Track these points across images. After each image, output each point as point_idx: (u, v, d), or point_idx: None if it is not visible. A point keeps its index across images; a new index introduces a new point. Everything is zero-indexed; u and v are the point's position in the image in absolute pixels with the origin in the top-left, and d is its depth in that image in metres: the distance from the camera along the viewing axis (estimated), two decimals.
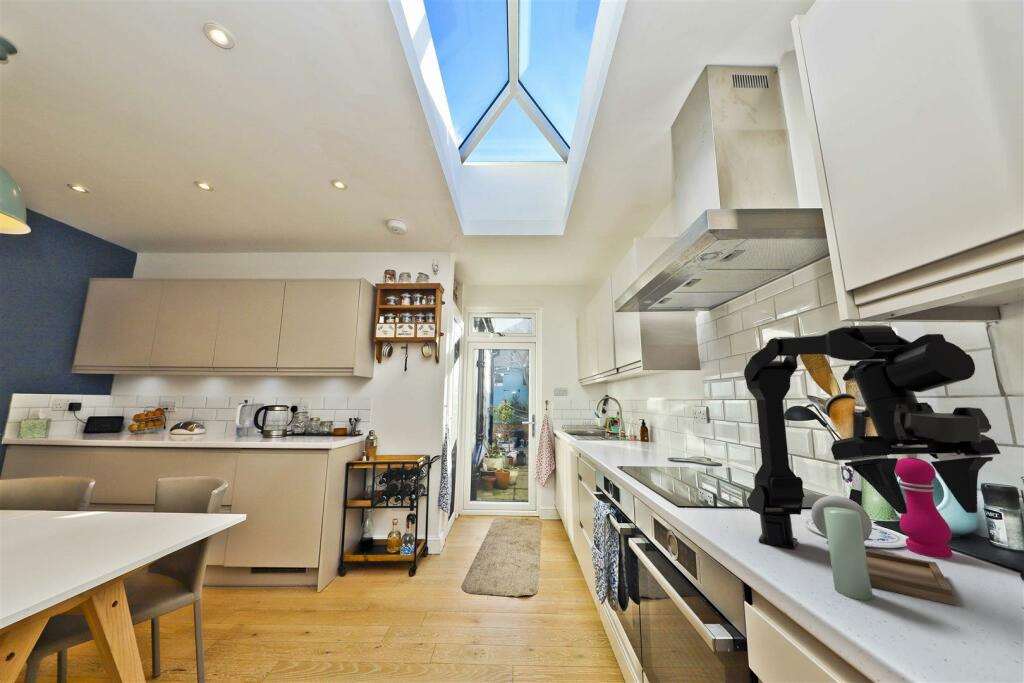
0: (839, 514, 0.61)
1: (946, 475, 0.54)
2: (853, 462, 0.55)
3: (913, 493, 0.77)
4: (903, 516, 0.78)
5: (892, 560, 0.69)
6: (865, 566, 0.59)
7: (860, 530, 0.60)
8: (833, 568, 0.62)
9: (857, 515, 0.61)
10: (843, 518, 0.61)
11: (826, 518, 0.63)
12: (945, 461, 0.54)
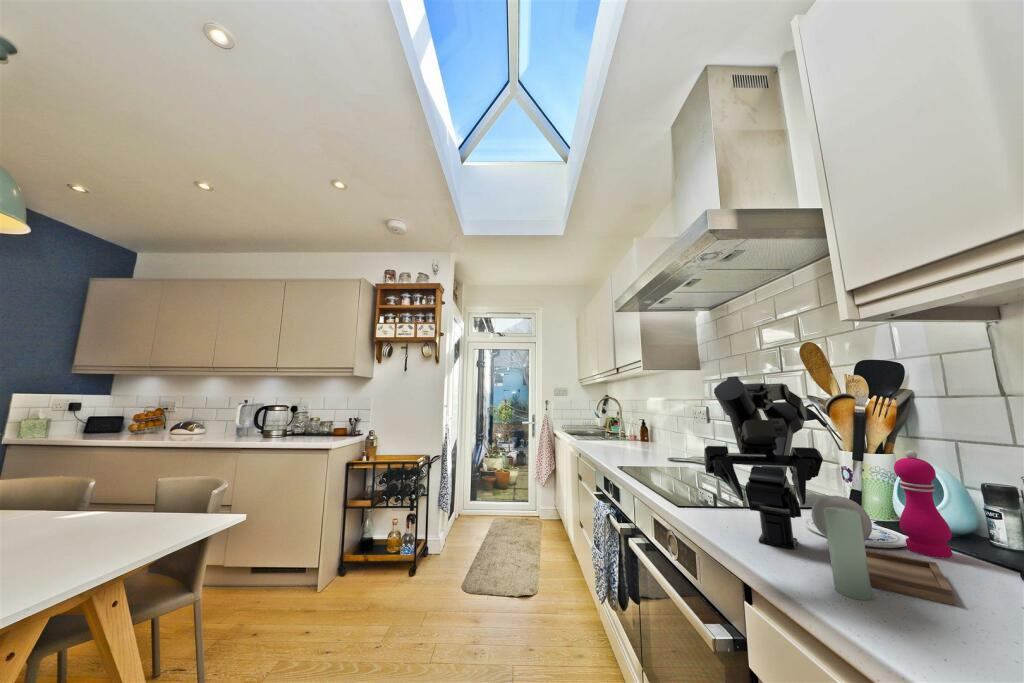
0: (839, 514, 0.61)
1: (794, 482, 0.68)
2: (714, 469, 0.74)
3: (913, 493, 0.77)
4: (903, 516, 0.78)
5: (892, 560, 0.69)
6: (865, 566, 0.59)
7: (860, 530, 0.60)
8: (833, 568, 0.62)
9: (857, 515, 0.61)
10: (843, 518, 0.61)
11: (826, 518, 0.63)
12: (793, 472, 0.70)
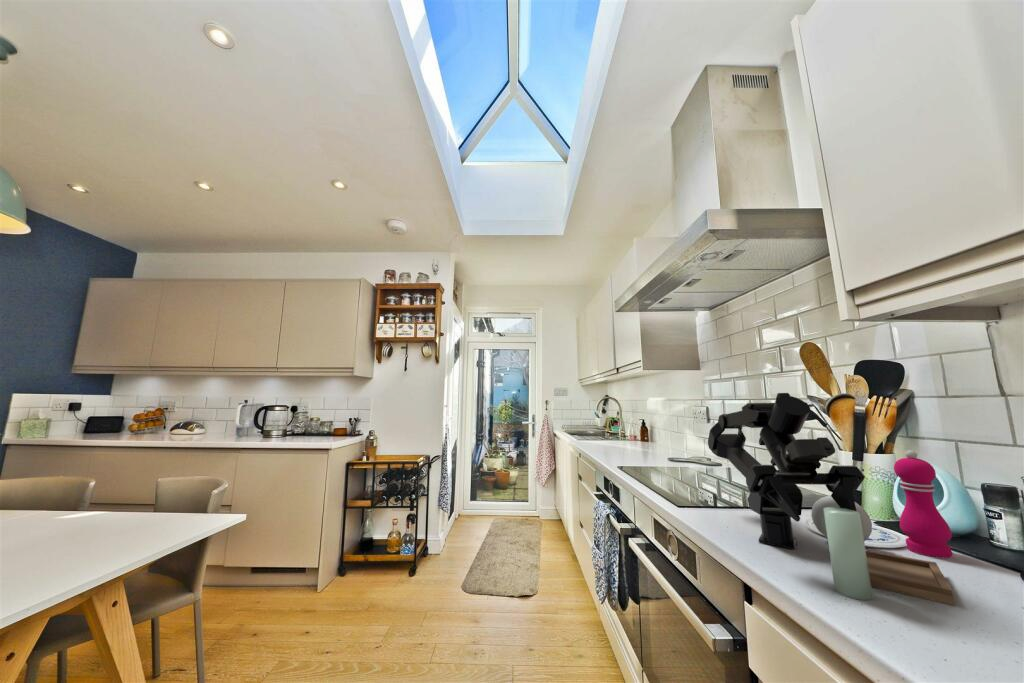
0: (839, 514, 0.61)
1: (838, 500, 0.70)
2: (759, 488, 0.73)
3: (913, 493, 0.77)
4: (903, 516, 0.78)
5: (892, 560, 0.69)
6: (865, 566, 0.59)
7: (860, 530, 0.60)
8: (833, 568, 0.62)
9: (857, 515, 0.61)
10: (843, 518, 0.61)
11: (826, 518, 0.63)
12: (835, 490, 0.71)
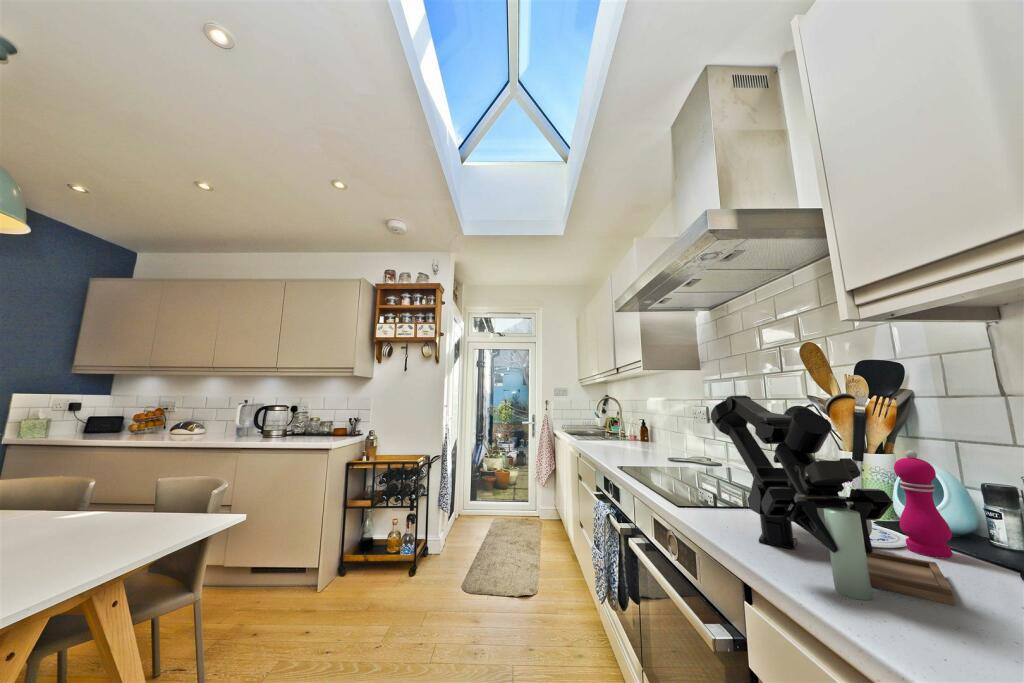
0: (839, 514, 0.61)
1: None
2: (790, 513, 0.67)
3: (913, 493, 0.77)
4: (903, 516, 0.78)
5: (892, 560, 0.69)
6: (865, 566, 0.59)
7: (860, 530, 0.60)
8: (833, 568, 0.62)
9: (857, 515, 0.61)
10: (843, 517, 0.61)
11: (826, 518, 0.63)
12: None
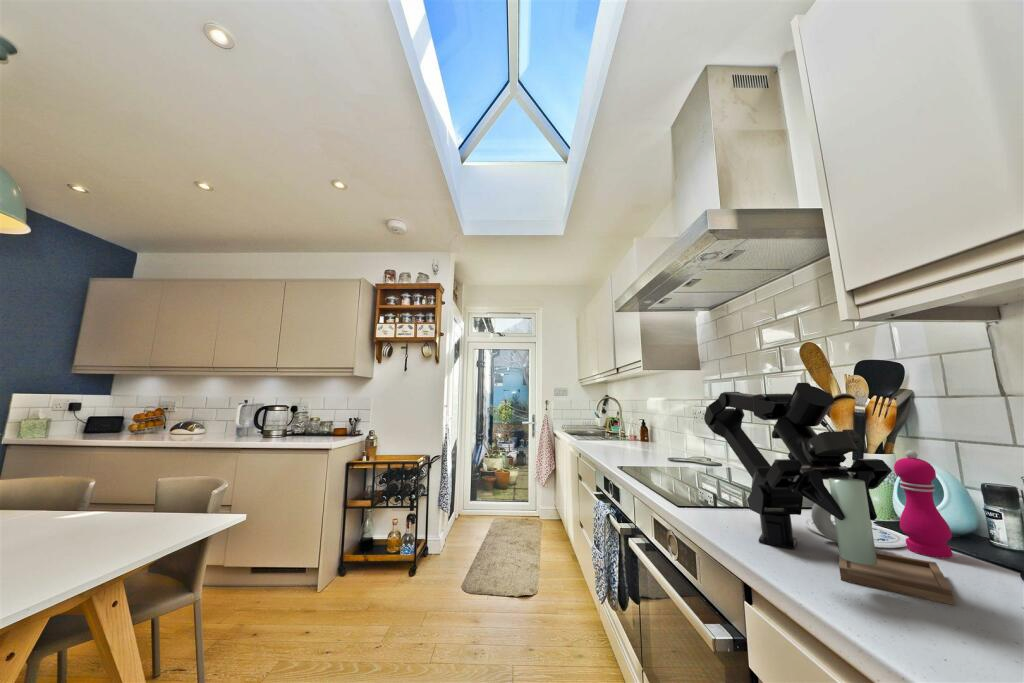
0: (846, 482, 0.62)
1: None
2: (795, 485, 0.68)
3: (913, 493, 0.77)
4: (903, 516, 0.78)
5: (892, 560, 0.69)
6: (870, 532, 0.61)
7: (866, 497, 0.62)
8: (839, 536, 0.63)
9: (863, 483, 0.62)
10: (850, 486, 0.62)
11: (832, 487, 0.64)
12: None
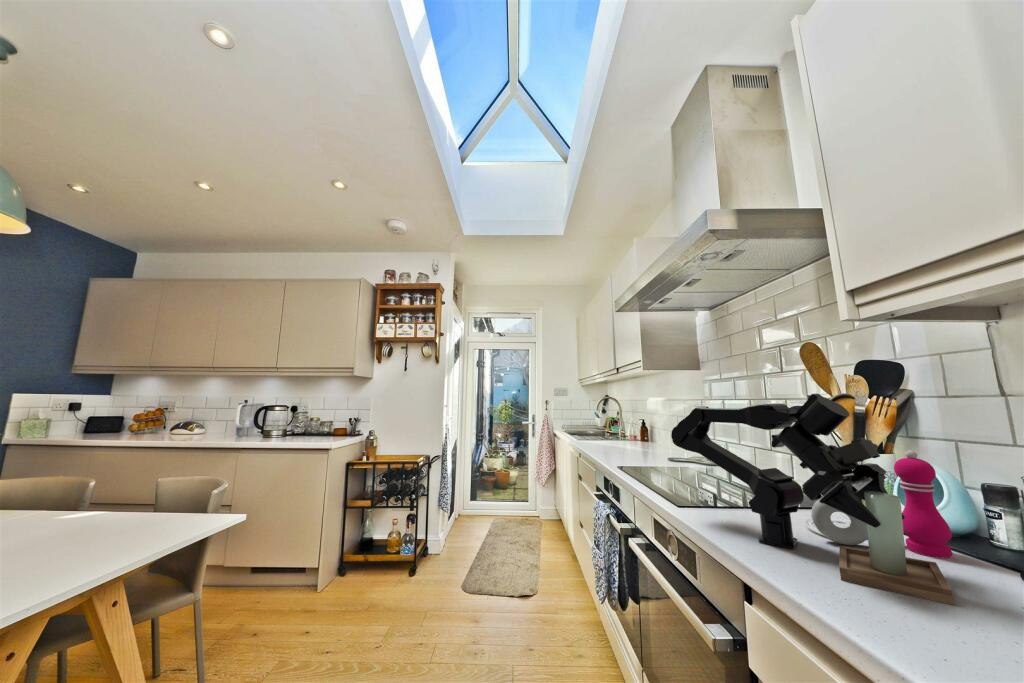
0: (890, 499, 0.65)
1: None
2: (826, 496, 0.68)
3: (913, 493, 0.77)
4: None
5: None
6: (903, 543, 0.65)
7: None
8: (878, 550, 0.66)
9: (899, 498, 0.66)
10: (894, 502, 0.65)
11: (874, 504, 0.66)
12: (863, 488, 0.73)
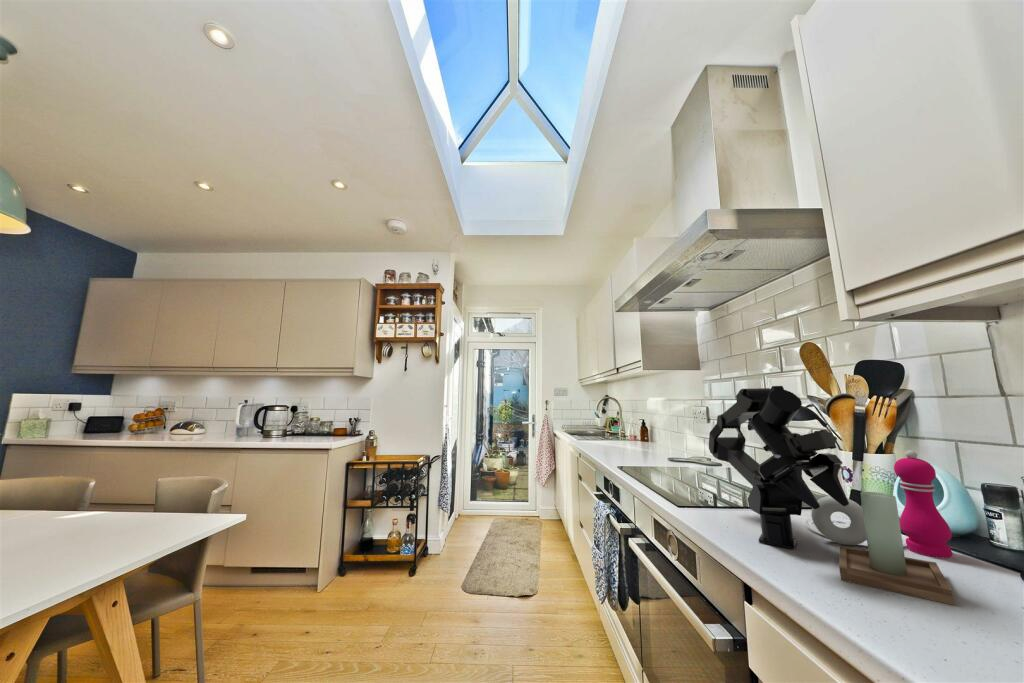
0: (886, 498, 0.66)
1: (822, 484, 0.78)
2: (776, 477, 0.74)
3: (913, 493, 0.77)
4: (903, 516, 0.78)
5: None
6: None
7: None
8: (877, 550, 0.66)
9: (895, 497, 0.66)
10: (890, 501, 0.65)
11: (871, 503, 0.67)
12: (818, 475, 0.79)
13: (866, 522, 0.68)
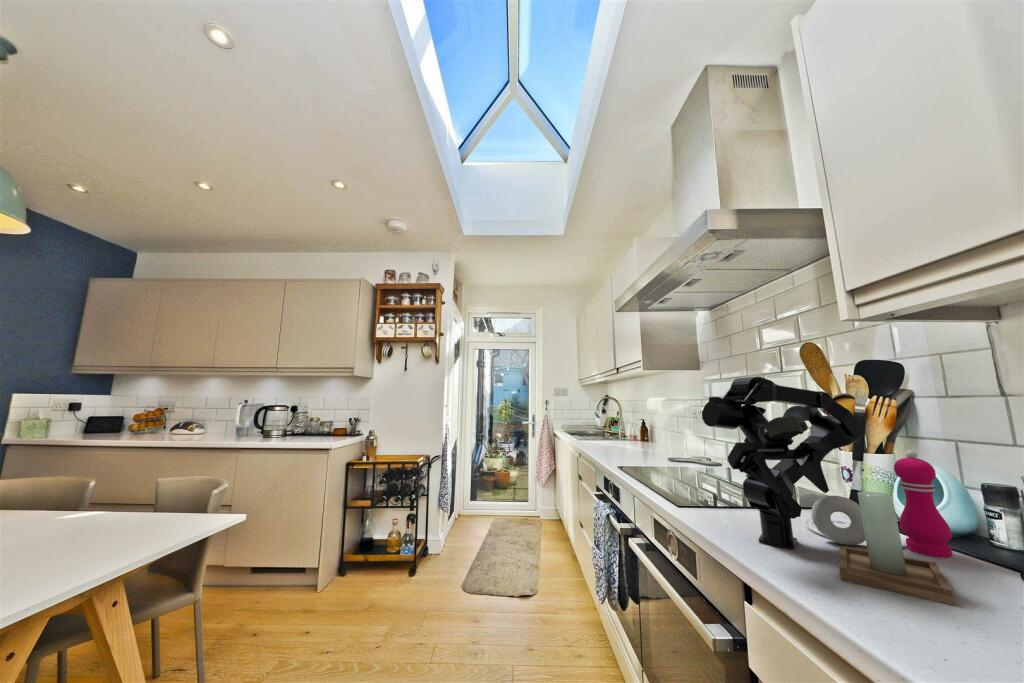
0: (883, 497, 0.66)
1: (807, 473, 0.76)
2: (742, 465, 0.77)
3: (913, 493, 0.77)
4: (903, 516, 0.78)
5: None
6: (900, 542, 0.65)
7: None
8: (876, 550, 0.66)
9: (891, 496, 0.67)
10: (887, 500, 0.66)
11: (868, 503, 0.67)
12: (803, 464, 0.78)
13: (864, 522, 0.68)
